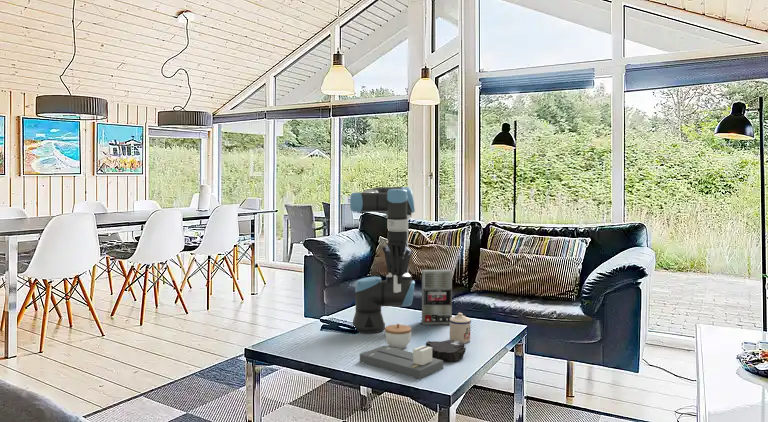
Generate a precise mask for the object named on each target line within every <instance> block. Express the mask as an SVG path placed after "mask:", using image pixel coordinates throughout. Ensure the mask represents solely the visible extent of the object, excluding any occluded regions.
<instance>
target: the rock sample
mask: <svg viewBox="0 0 768 422" xmlns="http://www.w3.org/2000/svg"><path fill="white" fill-rule="evenodd" d="M465 345H466V343H462V342H459V341H455V340H450V339H449V340H442V341H440V340H439V341H429V340H428V341H426V343H425V346H428V347H432V358H436V359H440V360H443V363H454V362H456V361H459V360H462V359H463V358H464V354H465V353H466V350H467V348H466V347H465Z"/></svg>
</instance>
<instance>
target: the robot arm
mask: <svg viewBox="0 0 768 422" xmlns="http://www.w3.org/2000/svg"><path fill="white" fill-rule="evenodd" d="M349 200H350V203H349V204H350V210H351V212H355V213H367V212H368V213H371V212H373V213H385V214H386V215H385V216H386V219H387V221H386V223H387V226H386V227H387V232H386V233H387V235H386V237H387V239H386V240H387V241H388V242H387V245H386V246H383V247H382V251H383V254H384V259H385V264H386V269H387V272H388V274H387V275H386V276H385V280H383V279H382V277H381V276H368V277H367V276H366V277H363V278H360V279H358V280H357V281H356V283H355V290H354V292H355V313H354V316H353V321H352V323H353V325H354V326H355V327H356V330H357V331H358V332H357V333H359V332H360V333H361V334H377V333H380V332H385V327H386V322H385V321H384V317H383V313H382V307H401V308H402V307H410V306H412V304H413V300H414V293H415V285H416V281H415V280H413V277H412V275H411V274H410V273H409V264H410V260H411V255H412V253H413V249H410V248H409V220H410V219H411V218H412V217H413V216H412V214H413V213H415V211H416V210H415V209H416V208H415V202H414V201H415V200H414V195H413V189H411V188H410V187H408V186H407V187H406V186H386V187H385V186H378V187H373V188H369V189H365V190H363V191H362V192H352V193H351V194H350V198H349Z"/></svg>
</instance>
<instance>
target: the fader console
mask: <svg viewBox="0 0 768 422" xmlns="http://www.w3.org/2000/svg"><path fill="white" fill-rule="evenodd" d="M360 361H361V362H360ZM359 362H360V363H362V362H364V363H363V364H365V363H367V364H366V365H369V364H370V365H369V366H372V365H373V367H376V368H380V369H382V370H387V371H391V372H393V373H397V374H400V375H404V376H408V377H411V378H414V379H417V380H418V379H419V380H421V379H424V378H425V377H427V376H430V375H432V374H434V373H436V372H438V371H439V372H440V371H441V370H444V362H443V360H440V359H436V358H432V362H429V363H427V364H425V365H419V364H415V363H413V351H411V352H410V351H407V350H403V349H396V348H392V347H391V346H387V345H382V346H378V347H375V348H373V349H371V350H368V351H364V352H363V353H362V352H361V353H360V354H359Z"/></svg>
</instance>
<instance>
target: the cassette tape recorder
mask: <svg viewBox="0 0 768 422" xmlns="http://www.w3.org/2000/svg"><path fill="white" fill-rule="evenodd" d="M452 317H453V270H451V269H421V324H422V325H423V326H426V325H429V326H431V325H432V326H433V325H450V321H449V320H450V318H452Z"/></svg>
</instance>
